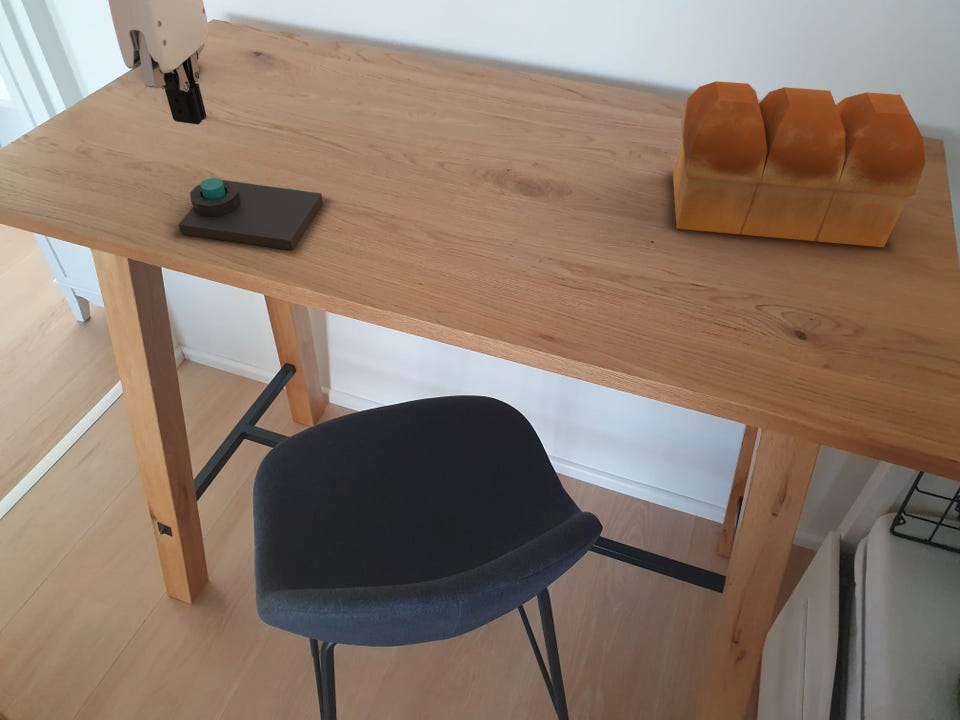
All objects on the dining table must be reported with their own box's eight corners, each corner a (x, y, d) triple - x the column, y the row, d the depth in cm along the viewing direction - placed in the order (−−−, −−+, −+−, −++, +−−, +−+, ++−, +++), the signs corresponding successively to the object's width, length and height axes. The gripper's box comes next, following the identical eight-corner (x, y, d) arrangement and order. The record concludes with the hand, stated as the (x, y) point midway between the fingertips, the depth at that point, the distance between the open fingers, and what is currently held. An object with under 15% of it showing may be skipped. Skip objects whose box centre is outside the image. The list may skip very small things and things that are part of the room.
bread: (673, 229, 92) (699, 115, 82) (669, 174, 101) (693, 64, 90) (888, 249, 90) (943, 134, 79) (865, 190, 99) (913, 80, 88)
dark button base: (179, 233, 91) (172, 212, 89) (217, 188, 98) (211, 167, 95) (292, 250, 89) (288, 229, 86) (323, 202, 96) (319, 181, 93)
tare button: (199, 199, 91) (196, 188, 90) (209, 187, 93) (206, 176, 92) (219, 202, 91) (216, 191, 90) (229, 190, 93) (226, 179, 91)
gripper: (147, -88, 77) (191, 85, 91) (59, -40, 67) (123, 148, 80) (216, -81, 76) (250, 93, 90) (138, -31, 66) (189, 158, 79)
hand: (190, 119), depth 85 cm, fingers closed
